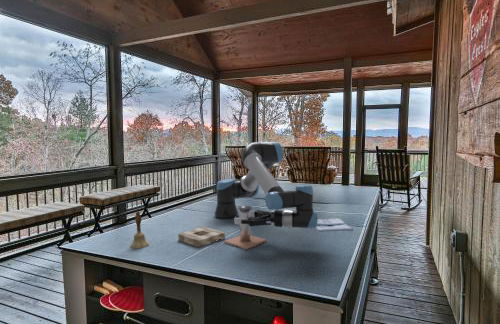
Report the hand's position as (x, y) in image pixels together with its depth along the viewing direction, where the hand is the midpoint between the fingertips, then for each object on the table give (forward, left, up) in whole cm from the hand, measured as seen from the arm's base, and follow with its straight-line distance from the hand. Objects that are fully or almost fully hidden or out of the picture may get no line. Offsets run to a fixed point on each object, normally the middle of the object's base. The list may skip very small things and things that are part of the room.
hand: (238, 217), depth 142 cm
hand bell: (+32, -33, -12) cm, 48 cm away
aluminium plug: (-2, +3, -11) cm, 11 cm away
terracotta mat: (-2, +3, -12) cm, 12 cm away
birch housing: (+8, -17, -12) cm, 23 cm away
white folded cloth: (-52, +21, -13) cm, 57 cm away
